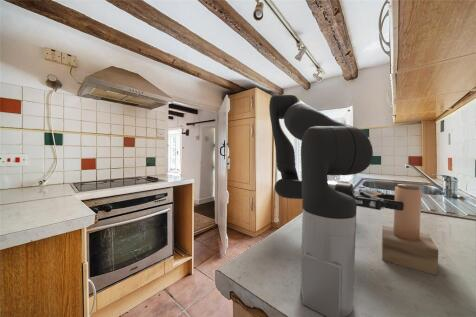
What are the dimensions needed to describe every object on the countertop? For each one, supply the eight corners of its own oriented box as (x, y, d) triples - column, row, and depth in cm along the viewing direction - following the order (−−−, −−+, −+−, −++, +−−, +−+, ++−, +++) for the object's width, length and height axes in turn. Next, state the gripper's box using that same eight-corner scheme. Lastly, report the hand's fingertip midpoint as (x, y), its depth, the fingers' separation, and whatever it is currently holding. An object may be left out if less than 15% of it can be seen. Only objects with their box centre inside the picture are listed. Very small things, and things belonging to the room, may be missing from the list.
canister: (421, 242, 46) (423, 187, 45) (393, 236, 49) (395, 185, 48) (417, 235, 50) (419, 184, 49) (392, 230, 53) (394, 182, 53)
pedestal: (437, 275, 43) (438, 250, 42) (382, 259, 49) (383, 237, 48) (428, 256, 50) (429, 234, 50) (381, 244, 57) (382, 225, 56)
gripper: (330, 185, 54) (405, 193, 44) (339, 179, 65) (400, 185, 55) (330, 210, 54) (404, 224, 44) (339, 200, 65) (399, 209, 55)
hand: (402, 202), depth 50 cm, fingers open, 8 cm apart
